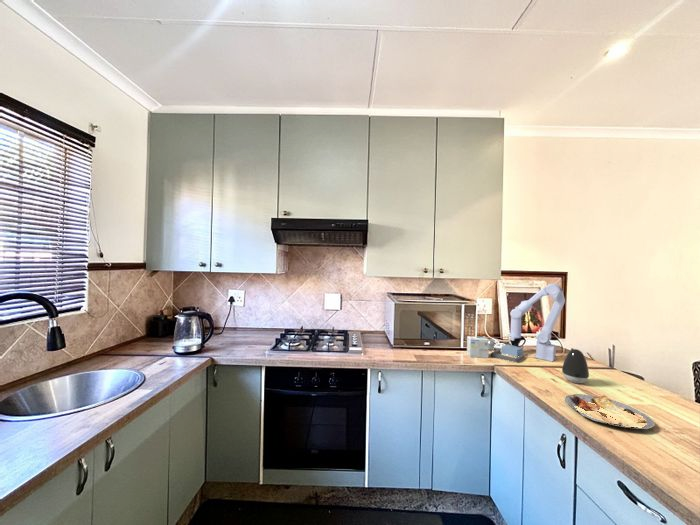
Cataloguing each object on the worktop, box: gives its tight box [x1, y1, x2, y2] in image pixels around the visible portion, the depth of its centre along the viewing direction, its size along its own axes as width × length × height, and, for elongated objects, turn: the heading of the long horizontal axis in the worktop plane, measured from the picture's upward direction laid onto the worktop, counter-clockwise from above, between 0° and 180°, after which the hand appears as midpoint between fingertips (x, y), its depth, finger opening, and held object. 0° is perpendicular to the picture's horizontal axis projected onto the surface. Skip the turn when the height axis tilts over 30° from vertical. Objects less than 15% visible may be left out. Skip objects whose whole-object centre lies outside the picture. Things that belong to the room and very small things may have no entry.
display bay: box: [490, 348, 525, 364], centre depth 180 cm, size 14×13×2 cm
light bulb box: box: [466, 335, 490, 359], centre depth 180 cm, size 11×7×11 cm, turn 86°
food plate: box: [564, 393, 655, 430], centre depth 113 cm, size 25×23×4 cm
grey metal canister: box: [488, 338, 496, 351], centre depth 195 cm, size 5×5×6 cm
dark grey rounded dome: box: [561, 347, 590, 384], centre depth 145 cm, size 10×10×15 cm
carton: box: [500, 343, 524, 358], centre depth 186 cm, size 9×8×4 cm
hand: (514, 350), depth 190 cm, fingers closed
